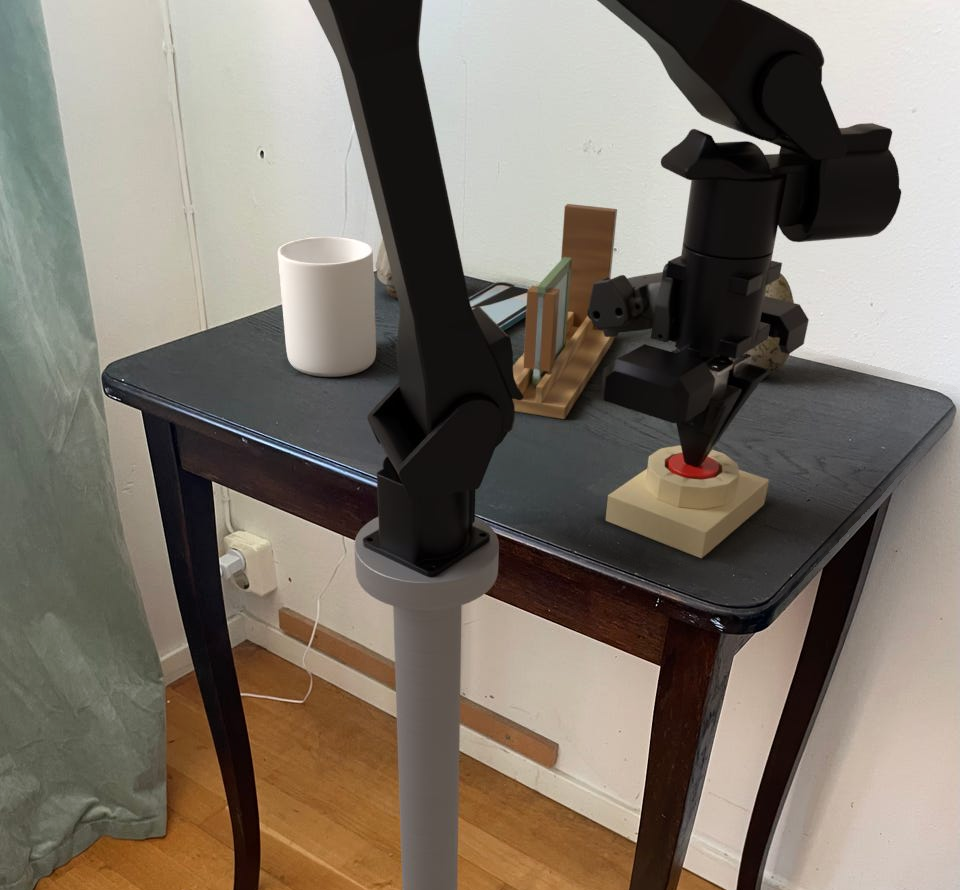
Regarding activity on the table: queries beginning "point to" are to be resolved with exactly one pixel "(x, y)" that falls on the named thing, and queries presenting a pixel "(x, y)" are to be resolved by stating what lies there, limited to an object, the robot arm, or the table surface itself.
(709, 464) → the button
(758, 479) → the control block
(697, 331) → the robot arm
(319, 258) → the mug
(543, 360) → the sash
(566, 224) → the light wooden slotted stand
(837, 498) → the table surface
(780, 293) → the decorative egg
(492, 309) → the smartphone
